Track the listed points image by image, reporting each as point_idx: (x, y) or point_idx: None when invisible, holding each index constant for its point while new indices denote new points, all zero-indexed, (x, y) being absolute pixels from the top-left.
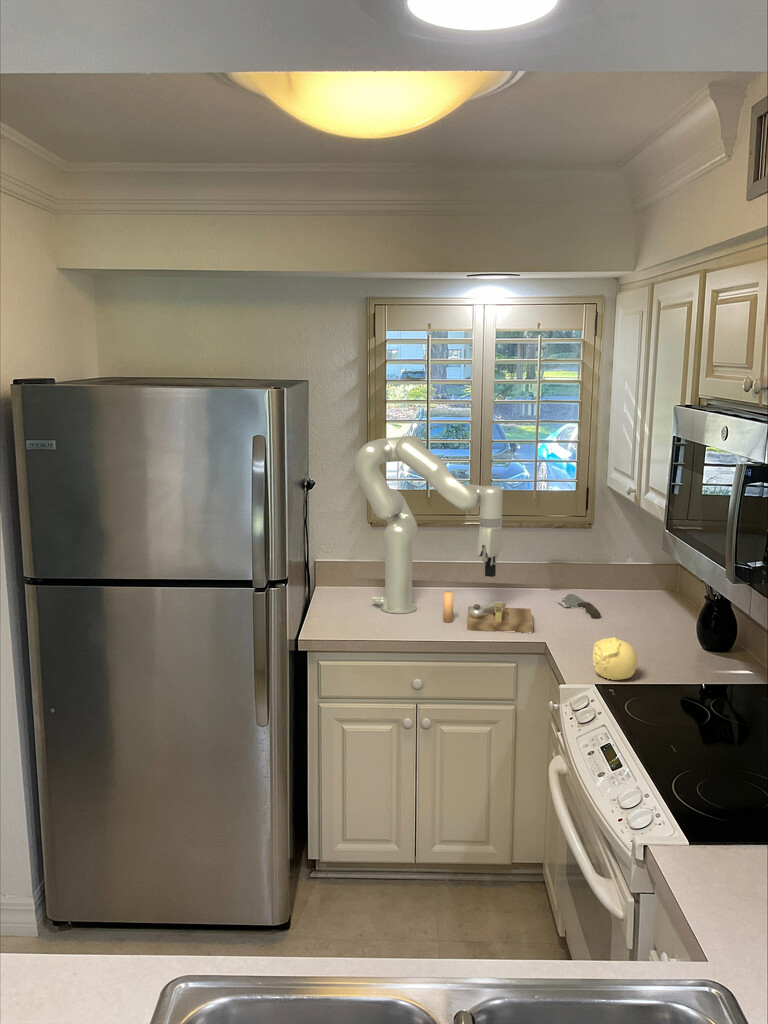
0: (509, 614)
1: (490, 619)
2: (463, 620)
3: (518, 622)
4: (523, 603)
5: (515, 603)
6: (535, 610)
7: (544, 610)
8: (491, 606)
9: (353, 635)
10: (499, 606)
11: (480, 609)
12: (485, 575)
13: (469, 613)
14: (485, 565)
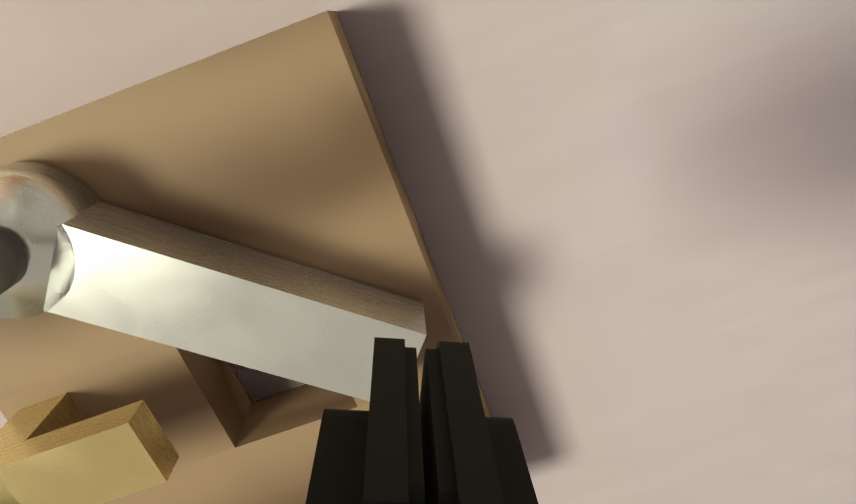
0: (285, 434)
1: (51, 357)
2: (143, 38)
3: None
4: (849, 320)
5: (834, 267)
6: (688, 442)
7: (708, 488)
8: (182, 346)
9: None
10: (37, 499)
11: (8, 291)
12: (375, 345)
13: (90, 123)
14: (364, 492)
